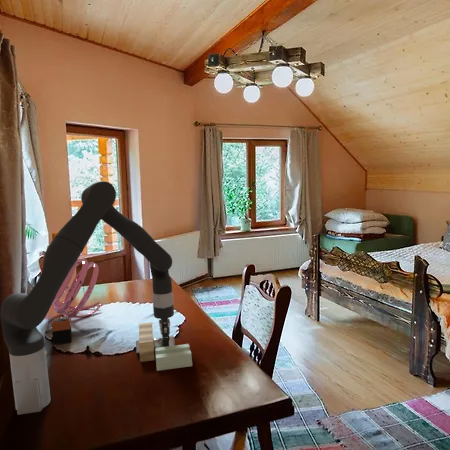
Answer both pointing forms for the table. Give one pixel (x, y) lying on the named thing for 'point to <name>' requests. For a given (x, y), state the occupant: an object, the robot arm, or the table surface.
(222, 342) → the table surface
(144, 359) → the beam
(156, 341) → the pale grey long bar
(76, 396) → the table surface
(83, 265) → the spiral basket
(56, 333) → the battery
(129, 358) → the table surface
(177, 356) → the v block
